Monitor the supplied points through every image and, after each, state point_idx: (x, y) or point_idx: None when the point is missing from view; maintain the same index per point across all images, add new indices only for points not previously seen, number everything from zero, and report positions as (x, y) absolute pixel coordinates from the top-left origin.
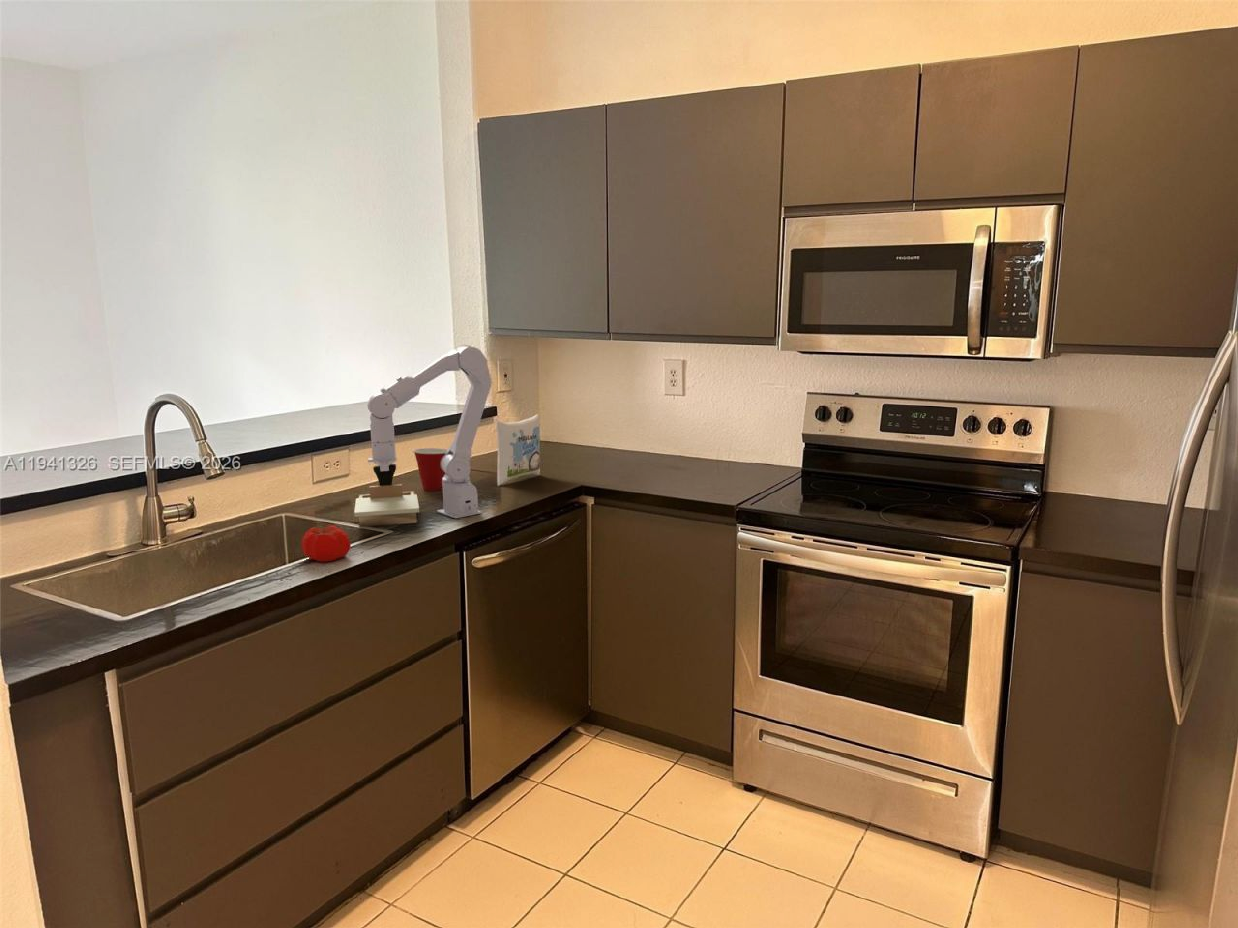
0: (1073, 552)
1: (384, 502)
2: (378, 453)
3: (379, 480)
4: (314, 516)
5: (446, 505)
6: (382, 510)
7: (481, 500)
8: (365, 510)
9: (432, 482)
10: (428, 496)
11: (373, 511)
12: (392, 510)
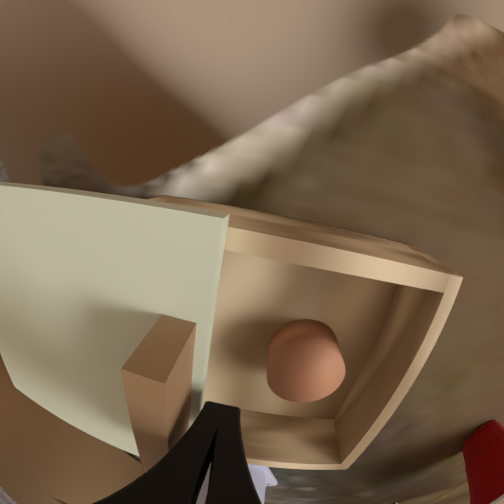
0: (60, 501)
1: (66, 346)
2: None
3: (153, 469)
4: (441, 66)
5: (207, 474)
6: None
7: (317, 498)
8: None
9: (473, 451)
10: (439, 437)
11: None
12: None
